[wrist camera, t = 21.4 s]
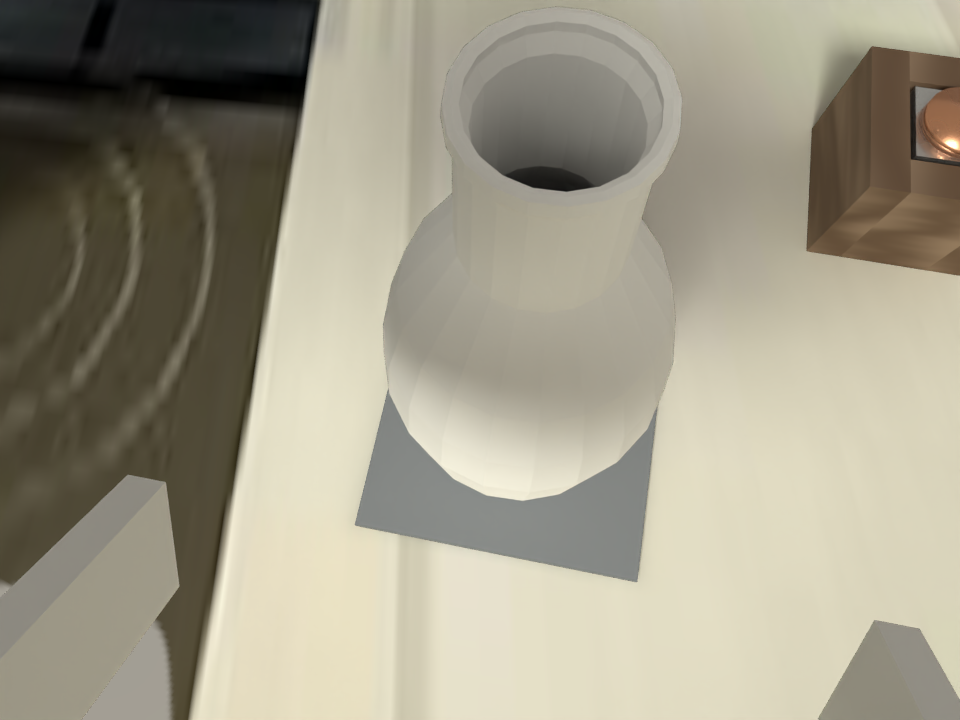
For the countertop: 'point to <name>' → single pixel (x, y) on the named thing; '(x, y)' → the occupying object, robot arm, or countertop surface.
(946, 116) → the release button
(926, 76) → the button housing
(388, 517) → the mat
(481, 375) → the bottle
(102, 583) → the robot arm
